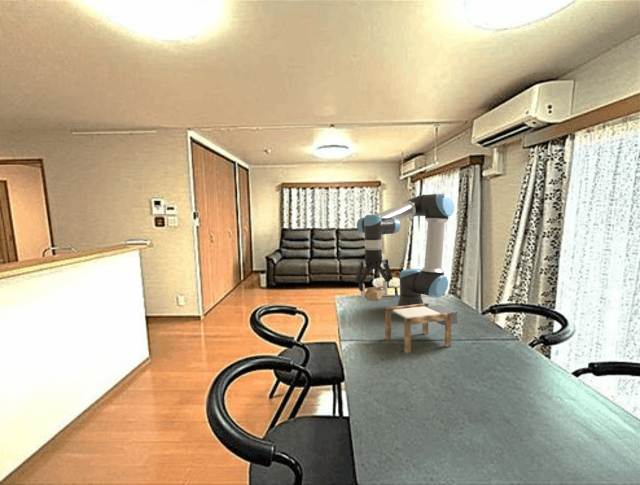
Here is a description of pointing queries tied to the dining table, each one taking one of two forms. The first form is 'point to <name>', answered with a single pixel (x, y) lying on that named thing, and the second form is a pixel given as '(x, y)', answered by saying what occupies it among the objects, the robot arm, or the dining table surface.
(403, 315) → the trapdoor
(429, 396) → the dining table surface
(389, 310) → the frame
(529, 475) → the dining table surface
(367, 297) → the stone
